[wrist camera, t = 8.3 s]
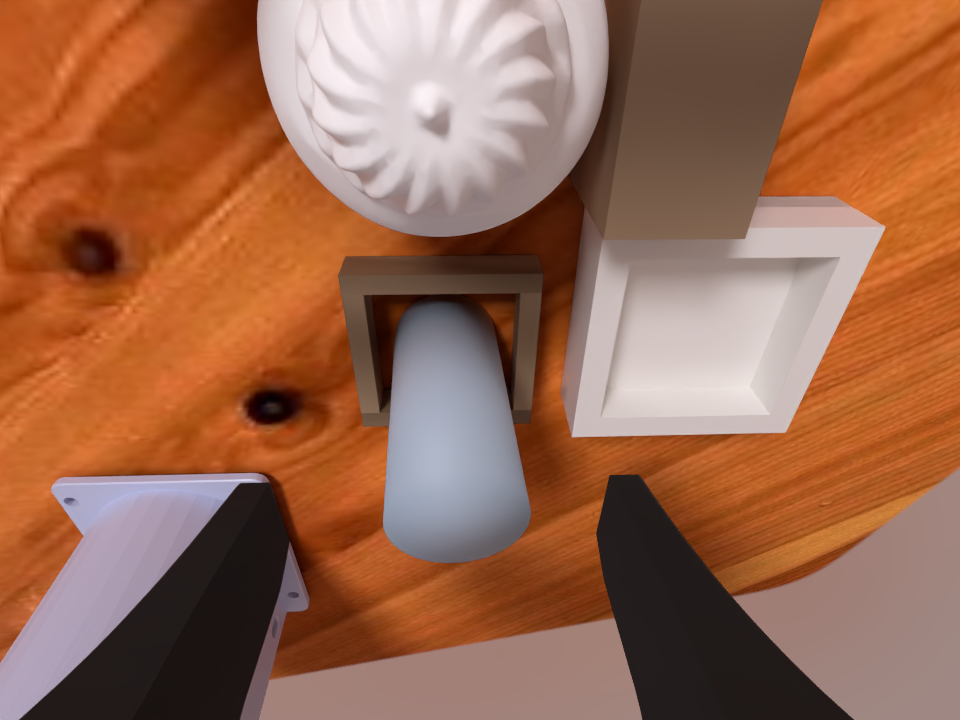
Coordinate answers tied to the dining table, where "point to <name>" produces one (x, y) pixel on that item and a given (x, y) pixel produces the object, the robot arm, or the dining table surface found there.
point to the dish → (710, 321)
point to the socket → (439, 278)
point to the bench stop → (690, 114)
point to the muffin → (436, 102)
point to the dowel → (451, 437)
